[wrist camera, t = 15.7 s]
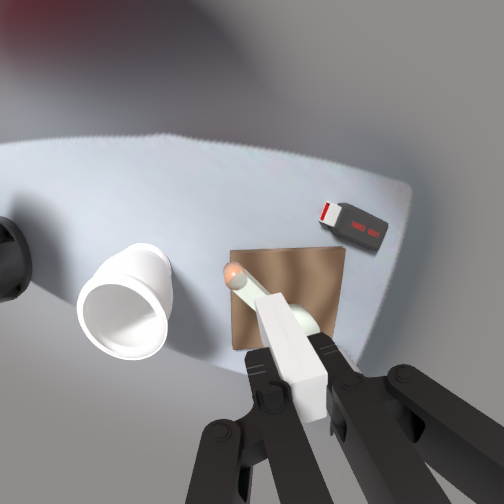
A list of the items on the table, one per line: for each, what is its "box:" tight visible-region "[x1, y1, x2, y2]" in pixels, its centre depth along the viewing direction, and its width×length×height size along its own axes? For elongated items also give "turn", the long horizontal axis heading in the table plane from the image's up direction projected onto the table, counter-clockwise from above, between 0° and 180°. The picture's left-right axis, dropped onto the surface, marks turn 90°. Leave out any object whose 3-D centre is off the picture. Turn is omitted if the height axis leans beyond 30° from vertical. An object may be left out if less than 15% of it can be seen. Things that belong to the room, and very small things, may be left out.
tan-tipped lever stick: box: [223, 261, 320, 336], centre depth 36 cm, size 16×6×4 cm, turn 42°
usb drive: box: [319, 201, 388, 251], centre depth 42 cm, size 5×12×3 cm, turn 69°
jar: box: [77, 243, 173, 360], centre depth 33 cm, size 11×10×15 cm
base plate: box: [230, 246, 346, 350], centre depth 45 cm, size 18×17×2 cm
